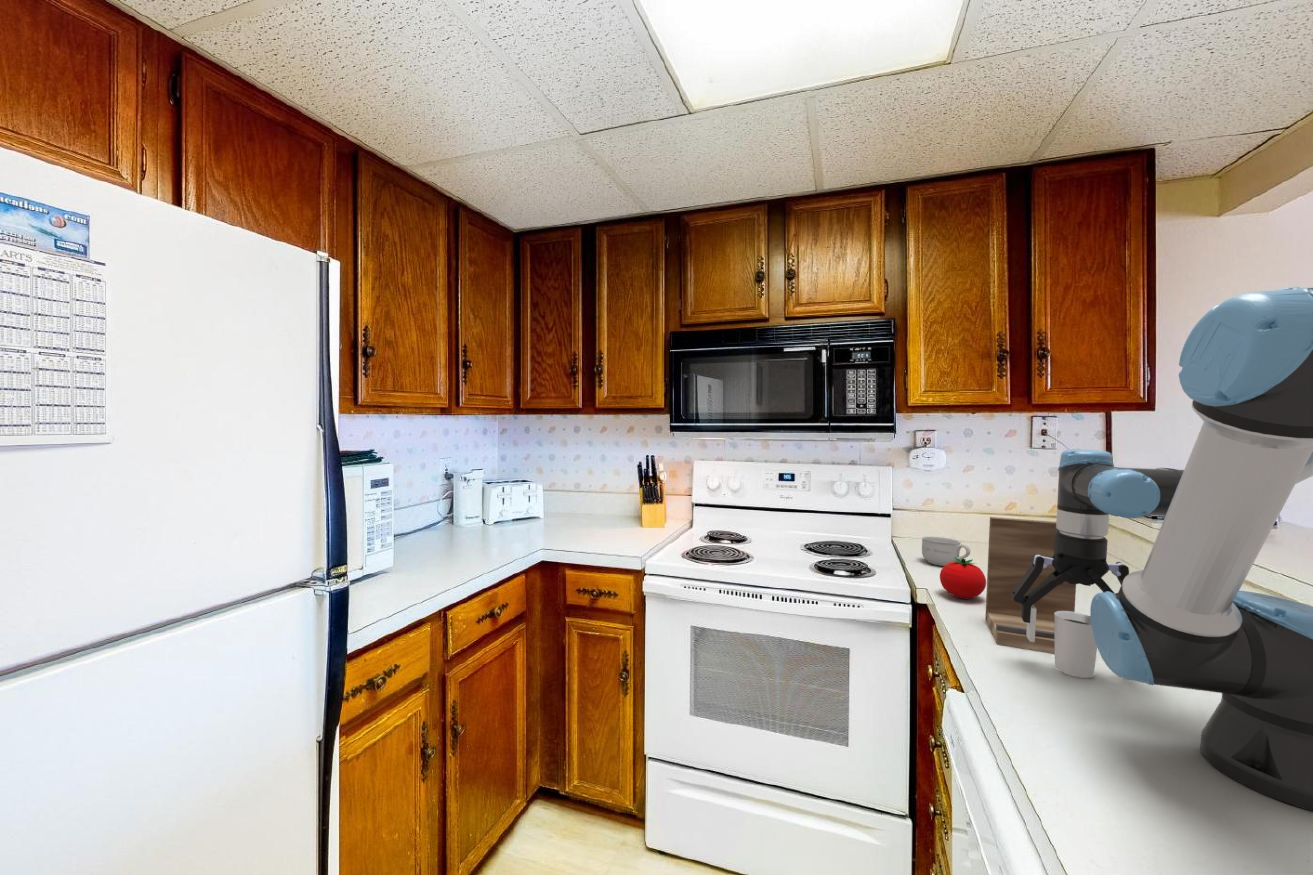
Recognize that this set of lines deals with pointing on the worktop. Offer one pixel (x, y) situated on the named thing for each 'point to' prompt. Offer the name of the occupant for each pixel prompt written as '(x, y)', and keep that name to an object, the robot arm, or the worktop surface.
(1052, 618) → the wooden display stand
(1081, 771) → the worktop surface
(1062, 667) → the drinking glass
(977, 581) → the tomato
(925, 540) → the teacup
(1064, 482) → the robot arm
